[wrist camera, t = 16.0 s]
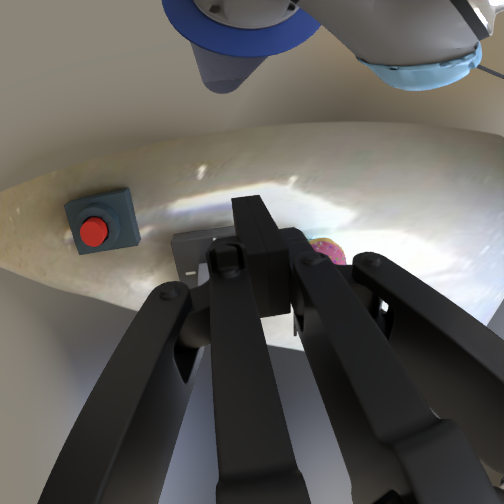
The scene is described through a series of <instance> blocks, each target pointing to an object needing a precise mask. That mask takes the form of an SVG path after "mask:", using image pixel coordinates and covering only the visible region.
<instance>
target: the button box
mask: <svg viewBox="0 0 504 504" xmlns="http://www.w3.org/2000/svg"><path fill="white" fill-rule="evenodd" d="M64 207H65V211H66V214H67V218H68V221H69V225H70V228H71V231H72V235H73V238H74V241H75V244H76V247H77V250H78V253H79V255H83V254H89V253H95V252H101V251H107V250H113V249H119V248H126V247H132V246H138V244H139V242H140V240H141V238H140V234H139V230H138V226H137V221H136V217H135V213H134V209H133V204H132V200H131V195H130V190H129V188H124V189H119V190H114V191H110V192H105V193H101V194H96V195H92V196H88V197H84V198H80V199H76V200H72V201H69V202H68V203H67V204H65V205H64ZM91 217H98V218H100V219H102V220H103V221H104V222H105V223H106V225H107V229H108V233H107V236H106V238H105V239H104V240H103V242H102V243H101V244H100V245H98V246H95V247H92V246H89V245H87V244H86V243H84V241H83V240H82V238H81V235H80V229H81V227H82V225H83V224H84V223H85V222H86V221H87V220H88V219H89V218H91Z"/></svg>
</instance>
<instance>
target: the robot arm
mask: <svg viewBox="0 0 504 504" xmlns="http://www.w3.org/2000/svg"><path fill="white" fill-rule="evenodd" d="M192 1H193V3H194V4H195V6H196V8H197V9H198V10H199V11H200V12H201V13H202V14H203V15H204V16H205V17H206V18H208V19H209V20H211V21H213V22H214V23H217V24H219V25H221V26H224V27H227V28H231V29H235V30H244V31H255V30H263V29H268V28H272V27H275V26H277V25H279V24H281V23H283V22H285V21H287V20H288V19H289V18H291V17H292V16H293V15H294V14H295V13H296V12H297V11H298V9H299V8H301V9H302V10H304V11H305V12H306V13H308V14H309V15H310V16H312V17H313V18H314V19H315V20H316V21H318V22H319V23H320V24H321V25H323V26H324V27H325V28H326V29H327V30H328V31H330V32H331V33H332V34H333V35H334V36H335V37H337V39H339V40H340V41H341V42H342V43H343V44H344V45H345V46H346V47H347V48H348V49H350V50H351V51H352V52H353V53H354V55H355V56H356V58H357V59H358V60H359V61H360V62H361V63H363V64H364V65H367V66H368V67H369V68H370V69H371V70H372V71H373V72H374V73H375V74H376V75H378V76H379V78H380V79H381V80H383V81H384V82H385V83H386V84H388V85H390V86H392V87H395V88H400V89H403V90H408V91H421V90H429V89H434V88H438V87H442V86H445V85H448V84H450V83H453V82H455V81H457V80H459V79H461V78H463V77H465V76H466V75H468V74H469V72H470V71H469V69H473V68H479V69H481V70H483V71H486V72H488V73H490V74H493V75H495V76H498V77H500V78H503V79H504V75H502V74H500V73H497V72H495V71H493V70H490V69H488V68H486V67H483V66H481V65H479V63H480V61H481V58H482V51H481V44H480V42H479V41H480V40H482V39H484V38H487V37H489V36H491V35H493V27H494V19H495V16H496V14H497V13H499V12H501V11H504V0H192ZM231 201H232V209H233V217H234V226H235V234H236V236H230V237H223V238H216V239H215V240H214V241H213V242H212V244H211V246H210V247H209V248H208V249H207V250H206V252H205V256H206V261H207V266H208V272H209V280H207V281H206V282H205V283H203V284H202V285H200V286H197V287H195V288H192V289H189V287H188V286H187V284H185V283H183V282H178V281H172V282H166V283H163V284H161V285H159V286H157V287H156V288H154V289H153V290H152V292H151V293H150V294H149V296H148V297H147V299H146V301H145V302H144V304H143V305H142V307H141V309H140V310H139V312H138V313H137V315H136V316H135V318H134V320H133V321H132V323H131V325H130V326H129V328H128V329H127V331H126V333H125V335H124V336H123V338H122V339H121V341H120V343H119V344H118V346H117V348H116V349H115V351H114V353H113V355H112V356H111V358H110V360H109V361H108V363H107V365H106V367H105V368H104V370H103V372H102V374H101V376H100V377H99V379H98V381H97V383H96V384H95V386H94V388H93V390H92V392H91V393H90V395H89V397H88V399H87V401H86V403H85V405H84V406H83V408H82V410H81V412H80V414H79V416H78V418H77V420H76V422H75V424H74V426H73V428H72V429H71V431H70V433H69V436H68V438H67V440H66V442H65V444H64V446H63V448H62V450H61V452H60V454H59V456H58V458H57V460H56V463H55V465H54V467H53V469H52V471H51V473H50V475H49V478H48V480H47V482H46V485H45V487H44V489H43V492H42V494H41V496H40V499H39V501H38V503H37V504H158V502H159V498H160V495H161V491H162V488H163V484H164V480H165V478H166V474H167V471H168V467H169V464H170V461H171V457H172V454H173V450H174V447H175V444H176V440H177V437H178V434H179V430H180V427H181V424H182V421H183V417H184V414H185V411H186V407H187V404H188V401H189V398H190V394H191V391H192V388H193V385H194V382H195V378H196V375H197V372H198V369H199V365H200V362H201V359H202V356H203V353H204V346H205V345H208V344H210V343H211V364H212V385H213V402H214V418H215V432H216V445H217V457H218V469H219V481H218V483H217V486H216V504H311V501H310V498H309V494H308V490H307V487H306V484H305V481H304V478H303V476H302V473H301V472H300V471H299V469H298V466H297V464H296V460H295V456H294V452H293V448H292V444H291V441H290V437H289V433H288V429H287V425H286V421H285V417H284V413H283V409H282V405H281V401H280V397H279V393H278V389H277V385H276V381H275V377H274V373H273V369H272V365H271V361H270V357H269V353H268V349H267V344H266V340H265V336H264V332H263V328H262V324H261V320H260V318H264V317H270V316H276V315H282V314H288V313H291V304H292V307H293V310H294V336H297V331H298V334H299V337H300V339H301V342H302V345H303V347H304V350H305V353H306V356H307V358H308V361H309V364H310V367H311V369H312V372H313V375H314V377H315V380H316V383H317V386H318V389H319V391H320V394H321V397H322V400H323V402H324V405H325V408H326V411H327V413H328V416H329V419H330V422H331V425H332V428H333V431H334V433H335V436H336V439H337V442H338V444H339V448H340V450H341V453H342V456H343V459H344V462H345V465H346V468H347V471H348V474H349V476H350V480H351V485H352V490H351V491H352V492H351V495H352V501H353V504H504V476H503V478H502V479H501V482H500V488H498V487H495V486H493V485H492V483H491V481H490V479H489V477H488V475H487V473H486V472H485V470H484V468H483V466H482V464H481V462H480V460H482V461H483V462H484V463H485V464H486V465H488V466H489V467H491V468H492V469H493V470H495V471H497V472H499V473H501V474H503V475H504V340H503V339H502V338H500V337H499V336H498V335H496V334H495V333H494V332H493V331H491V330H490V329H488V328H487V327H486V326H485V325H483V324H482V323H481V322H479V321H478V320H477V319H475V318H474V317H473V316H471V315H470V314H469V313H467V312H466V311H464V310H463V309H462V308H460V307H459V306H457V305H456V304H455V303H453V302H452V301H450V300H449V299H448V298H446V297H445V296H443V295H442V294H440V293H439V292H438V291H436V290H435V289H433V288H432V287H430V286H429V285H427V284H426V283H424V282H423V281H421V280H420V279H418V278H417V277H415V276H414V275H412V274H411V273H409V272H408V271H406V270H405V269H403V268H402V267H400V266H399V265H397V264H396V263H394V262H392V261H391V260H389V259H388V258H386V257H385V256H382V255H380V254H377V253H374V252H364V253H359V254H357V255H355V256H354V258H353V262H352V265H340V264H334V263H333V262H332V260H331V259H330V258H329V257H328V256H327V255H326V254H324V253H321V252H316V251H315V250H314V248H313V247H312V245H311V244H310V243H309V241H308V240H307V238H306V237H305V236H304V234H303V233H302V231H300V230H298V229H296V228H294V227H292V228H284V229H278V228H277V226H276V224H275V222H274V220H273V219H272V217H271V215H270V213H269V211H268V210H267V208H266V206H265V204H264V202H263V201H262V199H261V197H260V195H253V196H245V197H237V198H231ZM383 301H384V302H385V303H387V304H388V305H389V306H388V310H387V312H386V311H384V310H383V309H382V308H381V307H382V302H383ZM429 407H430V408H431V409H432V410H433V411H434V412H435V413H436V414H437V415H438V416H439V417H440V418H441V419H439V418H437V417H436V416H435V415H434V414H433V413H432V411H431V409H430V408H429ZM479 459H480V460H479Z"/></svg>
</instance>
